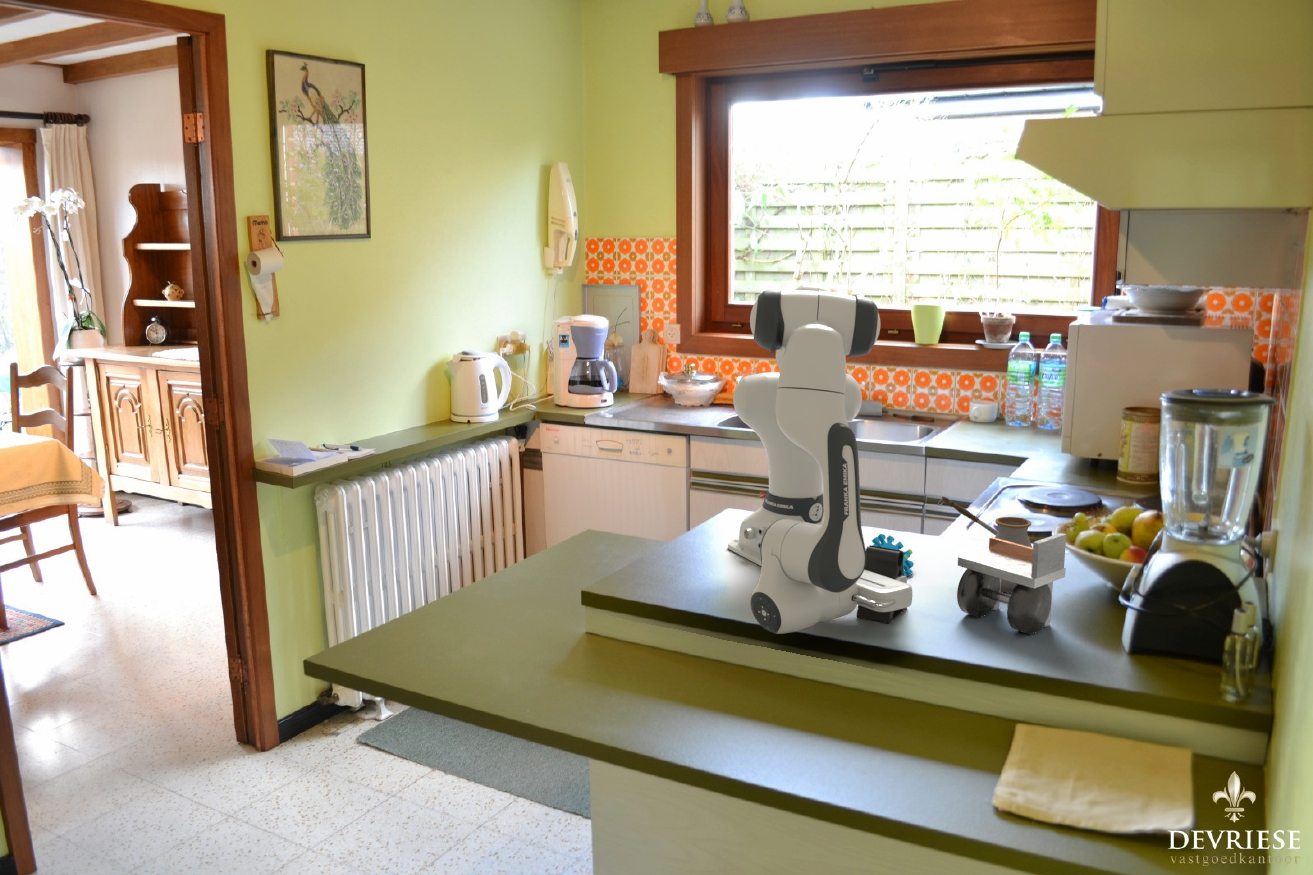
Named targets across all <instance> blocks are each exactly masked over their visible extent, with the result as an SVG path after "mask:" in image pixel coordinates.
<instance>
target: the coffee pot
mask: <svg viewBox="0 0 1313 875" xmlns="http://www.w3.org/2000/svg"><path fill="white" fill-rule="evenodd" d="M941 501H942V503H940V502H941ZM944 503H947V504H948V506H949V507H951V508H954V509H955V510H956V511H957V512H958V513H959V514H961V515H963V516H964V517H966V518H968V519H970V520H971V521H973V522H974V523H976V524H978V525H980V526H981V527H983V528H984V529H985V530H987V531H989V533H991V534H993V535H994V536H995V537H994V538H997V539H1001V540H1005V541H1009V542H1013V543H1016V544H1020V545H1024V546H1028V547H1032V548H1033V545H1032V543H1031V540H1030V538H1029V535H1028V531H1029V528H1030V527H1031V526H1032V522H1031V521H1030V520H1028V519H1026V518H1024V517H1019V516H1017V517H1016V516H1002V517H998V518H996V519H995V524H996V525H997V529H995V528H993V527H992V526H991V525H989V524H988V523H986V522H984V521H982V520H981V519H980V518H979V517H977V516H975V515H974V514H973V513H972V512H970V511H969V510H968V509H967V508H965V507H963V506H961V505H959V504H957V503H955V501H953V500H950V499H949V498H948V497H945V496H942V497H941V499H940V500H939V501H938V503H937V505H938V506H942V505H943V504H944ZM1016 585H1017V583H1014V582H1010V581H1007V580H1004V579H1001V590H1000V592H1002V593H1010V594H1011V593H1012V591H1013V589H1014V588H1015V586H1016Z"/></svg>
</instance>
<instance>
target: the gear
mask: <svg viewBox="0 0 1313 875" xmlns="http://www.w3.org/2000/svg"><path fill="white" fill-rule="evenodd" d="M871 541H872V545H871V546H877V547H883V548H889V549H895V550H901V549H903V548H904V545H903V543H902V542H901V541H898V542H897V543H896V544H893V542H894V541H895V538H894V537H893V536H892V535H888V536H887V537H886V535H885V534H883V533H879V535H877V536H876V537H874V538H873V539H872V540H871ZM912 554H913V550H912V549H907V550H906V551H903V571H904V576H906V577H907V578H908V576H911V574H913V573H914V572H913V570H912V568H913V567H914V561H912V560H910V559H909V558H910V557H911V555H912Z"/></svg>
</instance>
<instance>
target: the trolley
mask: <svg viewBox="0 0 1313 875" xmlns="http://www.w3.org/2000/svg"><path fill="white" fill-rule="evenodd" d="M1032 544H1033V545H1032V547H1028V546H1024V545H1020V544H1016V543H1013V542H1009V541H1005V540H1001V539H997V538H995V537H994V536H991V537H989V540H988V547H985V548H982V549H979V550H976V551H973V552H970V553H969V552H968V553H966V554H962V555H960V556H957V567H960V568H965V570H964V572H963V574H962V575H961V577H960V579H959V582H958V585H957V586H958V587H957V590H956V591H957V592H956V601H957V605H958V607H959V609H960V611H962V612H963V613H965V614H969V615H972V616H974V617H976V618H977V617H978V618H983V617H985V616H984V615H986V616H987V615H989V614H990V613H991V611H993V610H995V611H997V610H996V609H998V610H1000V604H1001V603H1002V604H1005V605H1007V609H1006V616H1007V617H1006V618H1007V621H1008V624H1009V626H1010V627H1011V629H1013V630H1016V631H1018V632H1022V633H1025V634H1028V635H1034V634H1033V633H1035V632H1037V633H1038V632H1039V631H1040V630H1042V628H1044V627H1045V628H1047V627H1049V625H1050V626H1051V616H1052V615H1051V614H1052V602H1053V601H1052V600H1053V588H1054V586H1053V585H1054V582H1056V581H1058V580H1061V579H1064V578H1065V577H1066V567H1065V560H1066V559H1065V558H1066V545H1067V534H1066V533H1063V532H1061V533H1056V534H1053V535H1050V536H1047V537H1044V538H1041V539H1038V540H1035V541H1033V542H1032ZM1001 579H1004V580H1007V581H1010V582H1014V583H1017V585H1016V586H1015V588H1014V589H1013V591H1012V593H1010V594H1008V593H1006V592H1002V591H1000V590H1001ZM982 616H983V617H982ZM1035 634H1036V633H1035Z"/></svg>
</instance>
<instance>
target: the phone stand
mask: <svg viewBox="0 0 1313 875" xmlns="http://www.w3.org/2000/svg"><path fill="white" fill-rule="evenodd" d="M865 549H866V565H865V570H868V571H871V572H874V573H877V574H880V575H883V576H886V577H889V578H892V579H895V578H894V576H897V575H903V576H904V572H905V570H904V571H903V552H904V551H903V550H901V549H899V550H895V549H889V548H883V547H877V546H872V545H871V544H869V546H867V547H865ZM895 580H896V579H895ZM907 610H908V607H906V608H903V609H899V610H895V611H890V612H877V611H874V610H871V609H868V608H866V607H863V606H860V605H857V610H856V618H859V619H860V618H861V619H864V620H868V621H869V620H870V621H873V622H878V623H883V624H886V625H887V624H888V625H890V624H891V623H893V622H894V621H895V620H896V619H897V618H898V617H900V616H901V615H902V614H903V613H904V612H905V611H907Z"/></svg>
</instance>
